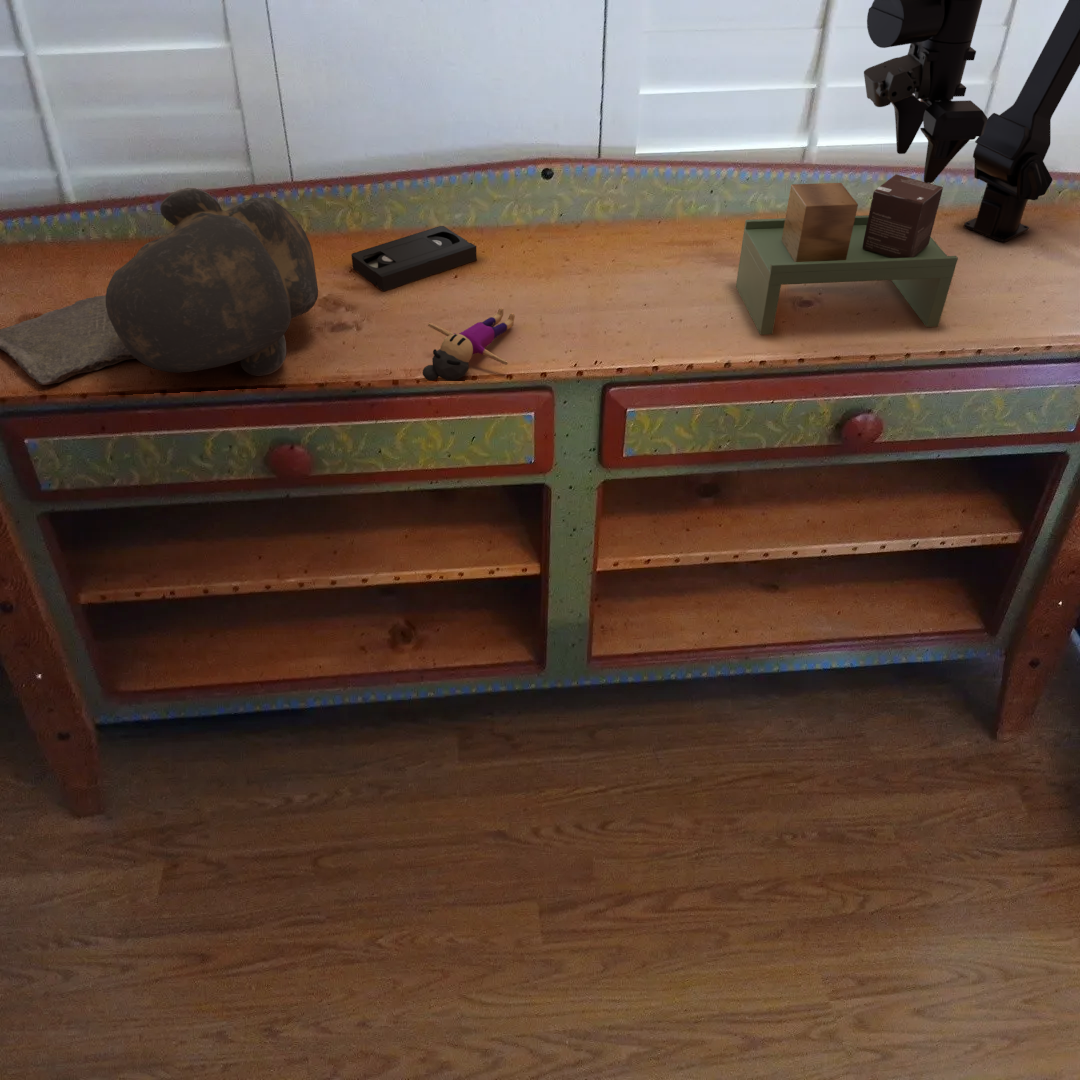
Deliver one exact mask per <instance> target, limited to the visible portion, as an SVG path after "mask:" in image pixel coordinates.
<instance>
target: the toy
mask: <svg viewBox="0 0 1080 1080" xmlns="http://www.w3.org/2000/svg"><path fill="white" fill-rule="evenodd" d="M515 316H516V315H515V313H513V312H511V313H510V314H509V316H508V317H507V319H506V320H505V321H503V322H502V319H503V317H504V308H503V307H499V308H498V310H497V312H496V314H494V315H492V316H490V317H488V318H486V319H485V320H483V321H479V322H476V323H474V324H473V325H471V326H470V327H468V328H465V330H463V331H460V332H459V333H456V332H452V331H450V330H447V329H445V328H443V327H441V326H439V325H437V324H435V323H432V322H428V327H429V328H430V329H433V330H435V331H437V332H438V333H441V334H442V335H444V336H445V338H444V339H443V340H442V342H441V345H440V348H439V349H436V348H434V349H433V351H432V354H433V356H432V359H431V361H432V364H427V365H426V366H424V368H422V376H423V377H424V378H425V380H427V381H428V382H429V381H430V382H431V381H436V380H437V379H438V378H439V377H440V378H441V379H444V380H445V381H457V380H459V379H461V378H464V377H465V376H466V374H467V372H468V371H469V368H470V365H469V362H470V361H471V359H472V357H473V355H475V354H480V355H481V356H485V357H488V358H490V359H492V360H494V361H497V362H499V363H500V364H502V365H505V366H506V365H508V364H509V362H508V361H507V359H504V358H502V357H500V356H499V355H496V354H495V353H494V352H493V353H492V352H491V351H489V350H488V349H486V347H488V346H490V345H491V344H492V343H493V341H494V340H496V339H497V338H498V337H500V336H501V335H502V334H504V333H505V332H507V330H509V329H511V328H512V327H513V326H514V322H515Z"/></svg>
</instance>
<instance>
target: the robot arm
mask: <svg viewBox="0 0 1080 1080" xmlns="http://www.w3.org/2000/svg"><path fill="white" fill-rule="evenodd" d="M982 5H983V0H873V1H872V3H871V6H870V7H869V8H868V11H867V16H866V28H867V33H868V36H869V39H870V40H871V42H872V43H873V45H875V46H876V47H878V48H880V49H886V48H891V47H898V46H899V47H900V46H904V45H909V48H908V52H907V54H905V55H901V56H899V57H898V56H897V57H894V58H891V59H888V60H885V61H883V62H880V63H878V64H875V65H872V66H870V67H868V68H866V69H865V70H864V71H863V77H864V84H865V85H864V86H865V92H866V98H867V100H870V101H871V102H872V103H873V105H874V106H875V107H877V108H884V107H887V106H890V105H892V106H893V109H894V120H895V139H896V141H895V142H896V153H897V154H898V155H905V154H907V152H908V150H909V149H910V148H911V145H912V144H913V142H914V140H915V138H916V136H917V134H918V133H919V130H920V131H921V133H922V134H923V135H924V137H925V138H926V140H927V146H926V147H927V148H926V155H925V162H924V171H923V182H926V183H930V184H933V182H935V180H936V179H937V178H938V177H939V176H940V174H942V172H943V171H944V169H946V167H947V166H948V165H949V164H950V162H951V161H952V160H953V159H954V158H955V157H956V155H957V154H958V153H959V152H961V150H962V149H963V148H964V147H965V146H966V145H967V144H968V143H969V141H973V140H975V139H976V140H975V141H974V143H975V144H976V145H975V147H974V150H973V154H972V158H973V159H974V161H973V162H974V163H973V164H974V165H973V166H974V171H973V172H974V176H973V177H974V179H976V180H980V181H982V182H983V183H986V186H985V189H984V192H983V195H982V198H981V201H980V204H979V205H980V206H979V209H978V212H977V215H976V217H974V218H972V219H970V220H968V221H965V222H964V224H963V228H965V229H967V230H970V231H973V232H975V233H978V234H980V235H983V236H985V237H987V238H990V239H992V240H995V241H997V242H1000V243H1006V242H1009V241H1010V240H1012V239H1015V238H1017V237H1019V236H1021V235H1023V234H1025V233H1027V232H1028V231H1029V230H1030V226H1028V225H1025V224H1023V223H1021V222H1022V218H1023V215H1024V213H1025V209H1026V207H1027V203H1028V201H1038V200H1039V197H1041V196H1044V195H1046V193H1047V191H1048V190H1049V188H1050V186H1051V184H1052V182H1053V178H1052V175H1051V173H1050V172H1049V170H1048V168H1047V166H1046V164H1045V162H1044V160H1045V157H1046V156H1047V153H1048V151H1049V149H1050V147H1051V135H1052V134H1051V133H1052V132H1051V131H1052V129H1051V121H1052V117H1053V115H1054V113H1055V112H1056V110H1057V108H1058V106H1059V105H1060V103H1061V101H1062V99H1063V97H1064V95H1065V93H1066V91H1067V90H1068V88H1069V86H1070V84H1071V82H1072V80H1073V79H1074V76H1075V74H1077V71H1078V69H1079V68H1080V0H1068V1H1067V3H1066V4H1065V6H1064V8H1063V11H1062V12H1061V13H1060V16H1059V18H1058V20H1057V22H1056V24H1055V25H1054V27H1053V29H1052V31H1051V32H1050V34H1049V37H1048V39H1047V40H1046V43H1045V44H1044V46H1043V48H1042V50H1041V52H1040V53H1039V56H1038V58H1037V59H1036V61H1035V63H1034V65H1033V67H1032V69H1031V71H1030V73H1029V75H1028V77H1027V79H1026V80H1025V82H1024V84H1023V86H1022V88H1021V90H1020V92H1019V94H1018V95H1017V98H1016V99H1015V100H1014V102H1013V105H1011V106H1009V107H1008V108H1007V109H1006V110H1004V111H1003V112H1001V113H1000V114H998V113H996V112H992V113H991V115H990V116H989V117H987V115H986V114H985V112H984V110H982V109H981V108H980V107H979V106H978V105H976V104H975V103H974V102H973V101H972V100H953V99H954V97H955V98H957V97H958V98H959V97H965V95H966V92H967V87H966V86H965V85H964V84H963V83H962V79H963V76H964V72H965V68H966V65H967V62H968V61H975V57H976V54H977V50H976V49H974V48H973V47H971V46H972V42H973V37H974V34H975V31H976V27H977V23H978V20H979V15H980V11H981V7H982ZM922 125H923V127H921V126H922Z"/></svg>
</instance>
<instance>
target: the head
mask: <svg viewBox="0 0 1080 1080" xmlns="http://www.w3.org/2000/svg"><path fill="white" fill-rule="evenodd" d="M159 210H160V214H161V215H162V217H163V218H164V220H166V221H167V222H168V223H170V224H172V225H173V226H174V228H173V230H171V231H170V232H169V233H168V234H166V235H165V236H161V237H160V238H157V239H154V240H151V241H149V242H147V243H145V244H144V245H143V246H142V247H141V248H139V250H138V251H137V253H136V254H135V255H134V256H133V257H132V258H131V259H129V260H128V261H127V262H126V263H125V264H123V265H122V266H121V267H119V268H118V269H116V270H115V272H114V273H113V275H112V276H111V278H110V280H109V283H108V285H107V287H106V292H105V296H106V309H107V313H108V317H109V319H110V321H111V323H112V325H113V327H114V329H115V331H116V333H117V335H118V336H119V338H120V340H121V341H122V343H123V344H124V346H125V347H126V349H127V350H128V351H129V352H130V353H131V355H132V356H134V357H135V359H136V360H137V361H139V362H140V363H141V364H143V365H145V366H147V367H149V368H151V369H153V370H157V371H161V372H167V373H178V374H180V373H192V372H197V371H203V370H204V371H205V370H209V369H214V368H218V367H224V366H226V365H227V366H228V365H231V364H233V363H237V362H239V363H240V367H241V368H242V370H243V371H244V372H245V373H246V374H249V375H251V376H257V377H261V376H268V375H271V374H272V373H274V372H277V371H278V370H279V369H280V368H281V367H283V364H284V362H285V360H286V358H287V357H286V356H287V342H286V337H285V333H286V332H287V331H288V330H289V327H290V325H291V322H292V320H293V319H295V318H298V317H300V316H303V315H305V314H306V313H308V312H310V310H311V309H312V308H313V307H314V306H315V304H316V302H317V300H318V296H319V286H318V280H317V273H316V265H315V259H314V252H313V249H312V245H311V242H310V240H309V237H308V236H307V233H306V231H305V230H304V228H303V227H302V226H301V223H299V221H298V220H297V218H295V216H294V215H293V214H291V212H290V211H288V210H287V209H286V208H285V207H283V205H281V204H280V203H278V202H277V201H276V200H275V199H273V198H270V197H261V196H257V197H254V198H253V197H252V198H249V199H248V200H245V201H243V202H241V203H240V204H237V205H236V206H234V207H231V208H229V209H227V210H223V208H222V207H221V205H220V203H219V202H218V201H217V199H216V198H215V197H213V196H212V195H211V194H210V193H208V192H207V191H205V190H203V189H199V188H196V187H186V188H183V189H178V190H175V191H174V192H172V193H170V194H169V195H168V196H167V197H165V198H164V199H163V201H162V202H161V204H160V206H159Z"/></svg>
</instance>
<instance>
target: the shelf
mask: <svg viewBox="0 0 1080 1080" xmlns="http://www.w3.org/2000/svg"><path fill="white" fill-rule="evenodd" d="M868 217H869V214H867V215H865V214H863V215H856V216H855V221H854V226H853V230H852V235H851V239H850V244H849V249H848V253H847V258H846V260H838V261H813V262H794V260H793V259H792V257H791V255H790V254H789V252H788V251H787V249H786V247H785V246H784V244H783V242H782V235H783V229H784V223H785V218H786V217H785V218H783V217H782V218H756V219H754V218H753V219H745V220H744V228H743V234H742V241H741V247H740V253H739V254H740V255H739V261H738V268H737V274H736V281H735V288H736V290H737V292H738V295H739V296H740V298H741V300H742V302H743V304H744V306H745V308H746V310H747V311H748V313H749V316H750V317H751V319H752V322H753V323H754V325H755V327H756V329H757V332H758V333H759V336H769V335H773V332H774V326H775V322H776V316H777V311H778V304H779V299H780V294H781V293H780V292H781V289H782V288H781V287H782V285H783V286H784V285H809V284H811V285H812V284H831V283H832V284H833V283H854V282H855V283H857V282H877V281H879V282H881V281H891V282H892V284H894V286H895V287H896V288H897V290H898V291H899V293H900V294H901V295H902V297H903V298H904V299H905V300H906V302H907V304H908V305H909V306H910V307H911V309H912V310H913V312H914V314H916V316H917V317H918V318H919V320H920V321H921V322H922V324H923V325H924V326H925V327H926V328H938V327H939V325H940V321H941V318H942V315H943V311H944V307H945V304H946V301H947V297H948V294H949V290H950V288H951V283H952V280H953V277H954V274H955V270H956V266H957V263H958V260H959V257H958V256H957V255H947V254H946V252H945V251H944V250H943V249H942V247H940V246H939V244H937V242H936V241H935V240H934V239H933V238H932V236H931V237H930V241H929V244H928V245H927V246H926V247H925V248H924V249H923V250H922V251H921V252H919V253H918V254H917V255H916V256H915V257H913V258H893V257H890V256H886V255H883V254H879V253H876V252H873V251H869V250H866V249H862V247H863V241H864V236H865V231H866V226H867V222H868Z"/></svg>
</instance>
